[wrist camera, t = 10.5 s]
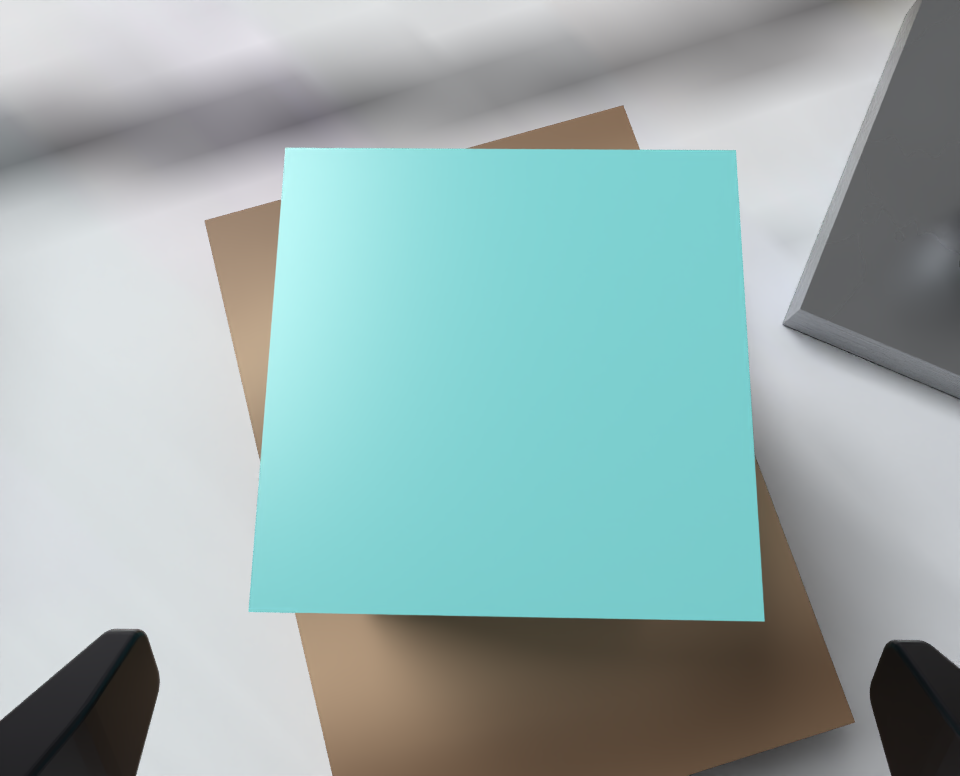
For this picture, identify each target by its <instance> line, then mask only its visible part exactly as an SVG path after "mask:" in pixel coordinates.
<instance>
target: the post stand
mask: <svg viewBox="0 0 960 776" xmlns="http://www.w3.org/2000/svg"><path fill="white" fill-rule="evenodd" d="M783 325H786V326H788V327H790V328H793V329H795V330H797V331H800V332H802V333H805V334H807V335H809V336H812V337H814V338H817V339H819V340H821V341H824V342H826V343H828V344H831V345H833V346H836V347H838V348H840V349H843V350H845V351H847V352H850V353H852V354H855V355H857V356H859V357H862V358H864V359H867V360H869V361H871V362H874V363H876V364H878V365H881V366H883V367H886V368H888V369H890V370H893V371H895V372H898V373H900V374H902V375H905V376H907V377H909V378H912V379H914V380H917V381H919V382H921V383H924V384H926V385H929V386H931V387H933V388H936V389H938V390H940V391H943V392H945V393H948V394H950V395H952V396H955V397H957V398H959V399H960V0H917V1H916V2H915V3H914V5H913V6H912V7H911V9H910V10H909V11H908V13H907V14H906V16H905V18H904V21H903V23H902V26H901V28H900V31H899V33H898V36H897V38H896V41H895V44H894V46H893V49H892V51H891V54H890V56H889V59H888V61H887V64H886V66H885V69H884V71H883V74H882V76H881V79H880V81H879V84H878V86H877V89H876V91H875V94H874V96H873V99H872V101H871V104H870V106H869V109H868V111H867V114H866V116H865V119H864V121H863V124H862V126H861V129H860V131H859V134H858V136H857V139H856V141H855V144H854V146H853V149H852V151H851V154H850V156H849V159H848V161H847V164H846V166H845V169H844V171H843V174H842V176H841V179H840V181H839V184H838V186H837V189H836V191H835V194H834V196H833V199H832V201H831V204H830V206H829V209H828V211H827V214H826V216H825V219H824V221H823V224H822V226H821V229H820V231H819V234H818V236H817V239H816V241H815V244H814V246H813V249H812V251H811V254H810V256H809V259H808V261H807V264H806V266H805V269H804V271H803V274H802V277H801V279H800V282H799V284H798V287H797V289H796V292H795V294H794V297H793V299H792V302H791V304H790V307H789V309H788V312H787V314H786V317H785V319H784V322H783Z"/></svg>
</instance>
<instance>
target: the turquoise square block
mask: <svg viewBox="0 0 960 776" xmlns="http://www.w3.org/2000/svg"><path fill="white" fill-rule="evenodd" d="M249 612H280V613H334V614H388V615H442V616H495V617H549V618H603V619H657V620H710V621H764V622H765V619H764V603H763V587H762V570H761V554H760V538H759V521H758V505H757V489H756V473H755V456H754V440H753V424H752V407H751V391H750V375H749V358H748V342H747V326H746V309H745V293H744V277H743V260H742V244H741V228H740V211H739V195H738V179H737V163H736V150H589V149H409V148H285V160H284V172H283V185H282V198H281V210H280V223H279V235H278V248H277V260H276V273H275V286H274V298H273V311H272V323H271V336H270V349H269V361H268V374H267V386H266V399H265V411H264V424H263V437H262V449H261V462H260V474H259V487H258V499H257V512H256V525H255V537H254V550H253V562H252V575H251V588H250V600H249Z"/></svg>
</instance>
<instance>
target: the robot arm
mask: <svg viewBox="0 0 960 776" xmlns="http://www.w3.org/2000/svg"><path fill="white" fill-rule="evenodd" d="M159 684H160V678H159V671H158V668H157V665H156V662H155V659H154V655H153V652H152V649H151V646H150V643H149V640H148V637H147V635H146V633H145V632H144V631H142V630H140V629H111V630H109V631H107V632H105V633H103V634H102V635H101V636H100V637H99V638H97V639H96V640H95V641H94V642H93V643H91V644H90V645H89V646H88V647H87V648H86V649H84V650H83V651H82V652H81V653H80V654H78V655H77V656H76V657H75V658H74V659H73V660H71V661H70V662H69V663H68V664H67V665H65V666H64V667H63V668H62V669H61V670H60V671H58V672H57V673H56V674H55V675H54V676H52V677H51V678H50V679H49V680H48V681H47V682H45V683H44V684H43V685H42V686H41V687H39V688H38V689H37V690H36V691H35V692H34V693H32V694H31V695H30V696H29V697H28V698H26V699H25V700H24V701H23V702H22V703H21V704H19V705H18V706H17V707H16V708H15V709H13V710H12V711H11V712H10V713H9V714H8V715H6V716H5V717H4V718H3V719H2V720H0V776H136V774H137V770H138V767H139V763H140V759H141V755H142V752H143V748H144V744H145V741H146V737H147V733H148V729H149V726H150V722H151V718H152V714H153V711H154V707H155V703H156V700H157V696H158V692H159ZM870 700H871V705H872V709H873V713H874V716H875V720H876V723H877V727H878V730H879V734H880V737H881V741H882V744H883V748H884V752H885V755H886V759H887V762H888V766H889V769H890V773H891V776H960V668H958V667H957V666H956V665H955V664H954V663H952V662H951V661H950V660H949V659H948V658H946V657H945V656H944V655H943V654H941V653H940V652H939V651H938V650H937V649H935V648H934V647H933V646H931V645H930V644H928V643H926V642H924V641H920V640H892V641H890V642H888V643H887V644H886V646H885V647H884V650H883V652H882V655H881V658H880V660H879V663H878V666H877V668H876V671H875V674H874V676H873V679H872V681H871V685H870Z"/></svg>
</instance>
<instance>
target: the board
mask: <svg viewBox="0 0 960 776" xmlns="http://www.w3.org/2000/svg"><path fill="white" fill-rule="evenodd" d="M466 149H589V150H640V149H639V146H638V143H637V141H636V138H635V135H634V133H633V130H632V127H631V125H630V122H629V119H628V117H627V114H626V111H625V109H624V106H619V107H615V108H612V109H608V110H604V111H601V112H597V113H594V114H590V115H586V116H583V117H579V118H575V119H572V120H568V121H564V122H561V123H557V124H554V125H550V126H546V127H543V128H539V129H535V130H532V131H528V132H525V133H521V134H517V135H514V136H510V137H506V138H503V139H499V140H495V141H492V142H488V143H485V144H481V145H477V146H474V147H470V148H466ZM280 210H281V200H278V201H274V202H270V203H267V204H263V205H259V206H256V207H252V208H249V209H245V210H241V211H238V212H234V213H230V214H227V215H223V216H219V217H216V218H212V219H209V220H205V224H206V229H207V233H208V237H209V242H210V246H211V250H212V255H213V259H214V263H215V268H216V272H217V276H218V281H219V285H220V289H221V294H222V298H223V302H224V307H225V311H226V315H227V320H228V324H229V328H230V333H231V337H232V341H233V346H234V350H235V354H236V359H237V363H238V368H239V372H240V376H241V381H242V385H243V389H244V394H245V398H246V402H247V407H248V411H249V415H250V420H251V424H252V428H253V433H254V437H255V441H256V446H257V450H258V454H259V459H260V462H261V449H262V437H263V424H264V411H265V399H266V386H267V374H268V361H269V349H270V336H271V323H272V311H273V298H274V286H275V273H276V260H277V248H278V235H279V223H280ZM754 456H755V455H754ZM755 473H756V489H757V505H758V521H759V538H760V554H761V570H762V587H763V603H764V619H765V622H764V621H710V620H657V619H603V618H549V617H495V616H442V615H388V614H334V613H295V615H296V619H297V623H298V628H299V632H300V636H301V641H302V645H303V649H304V654H305V658H306V662H307V667H308V671H309V675H310V680H311V684H312V688H313V693H314V697H315V701H316V706H317V710H318V714H319V719H320V723H321V727H322V732H323V736H324V740H325V745H326V749H327V753H328V758H329V762H330V766H331V771H332V775H333V776H688V775H691V774H694V773H697V772H700V771H703V770H706V769H710V768H713V767H716V766H719V765H722V764H725V763H729V762H732V761H735V760H738V759H741V758H744V757H747V756H751V755H754V754H757V753H760V752H763V751H766V750H769V749H773V748H776V747H779V746H782V745H785V744H788V743H792V742H795V741H798V740H801V739H804V738H807V737H810V736H814V735H817V734H820V733H823V732H826V731H829V730H833V729H836V728H839V727H842V726H845V725H848V724H851V723H855V721H854V718H853V716H852V713H851V710H850V708H849V705H848V702H847V700H846V697H845V694H844V692H843V689H842V686H841V684H840V681H839V678H838V676H837V673H836V670H835V668H834V665H833V662H832V660H831V657H830V654H829V652H828V649H827V646H826V644H825V641H824V638H823V636H822V633H821V630H820V628H819V625H818V622H817V620H816V617H815V614H814V612H813V609H812V606H811V604H810V601H809V598H808V596H807V593H806V590H805V588H804V585H803V582H802V580H801V577H800V574H799V572H798V569H797V567H796V564H795V561H794V559H793V556H792V553H791V551H790V548H789V545H788V543H787V540H786V537H785V535H784V532H783V529H782V527H781V524H780V521H779V519H778V516H777V513H776V511H775V508H774V505H773V503H772V500H771V497H770V495H769V492H768V489H767V487H766V484H765V481H764V479H763V476H762V473H761V471H760V468H759V465H758V463H757V460H756V457H755Z"/></svg>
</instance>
